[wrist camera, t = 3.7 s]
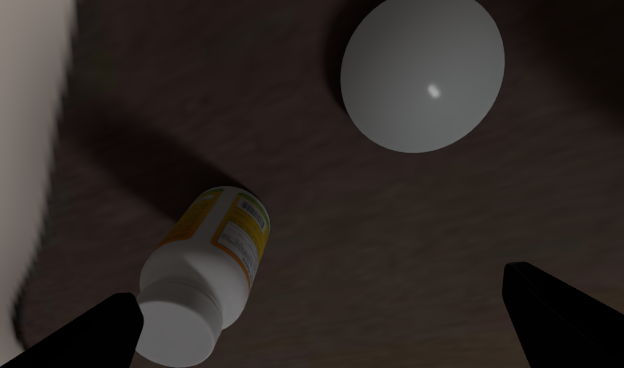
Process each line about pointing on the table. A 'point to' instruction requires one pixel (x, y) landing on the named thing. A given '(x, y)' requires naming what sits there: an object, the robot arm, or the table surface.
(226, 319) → the supplement bottle
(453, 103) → the dish
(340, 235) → the table surface
